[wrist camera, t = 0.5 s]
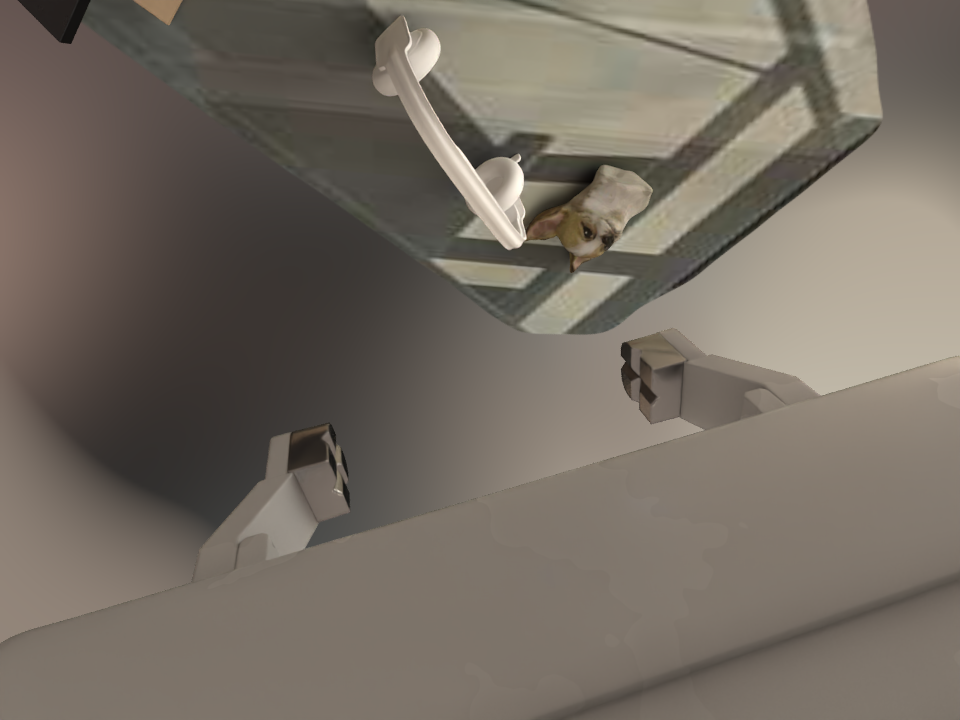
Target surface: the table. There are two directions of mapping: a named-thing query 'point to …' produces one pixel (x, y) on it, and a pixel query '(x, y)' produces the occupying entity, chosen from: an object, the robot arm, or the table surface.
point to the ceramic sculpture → (593, 215)
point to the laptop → (161, 8)
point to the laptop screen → (58, 16)
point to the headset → (483, 188)
